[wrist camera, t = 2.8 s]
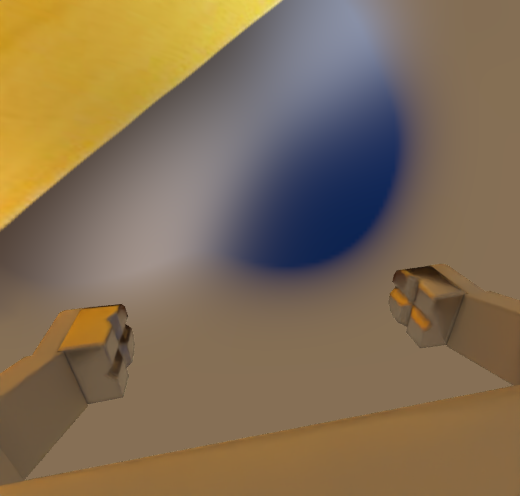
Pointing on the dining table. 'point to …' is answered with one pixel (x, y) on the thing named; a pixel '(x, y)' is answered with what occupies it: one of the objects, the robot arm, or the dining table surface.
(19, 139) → the dining table surface
